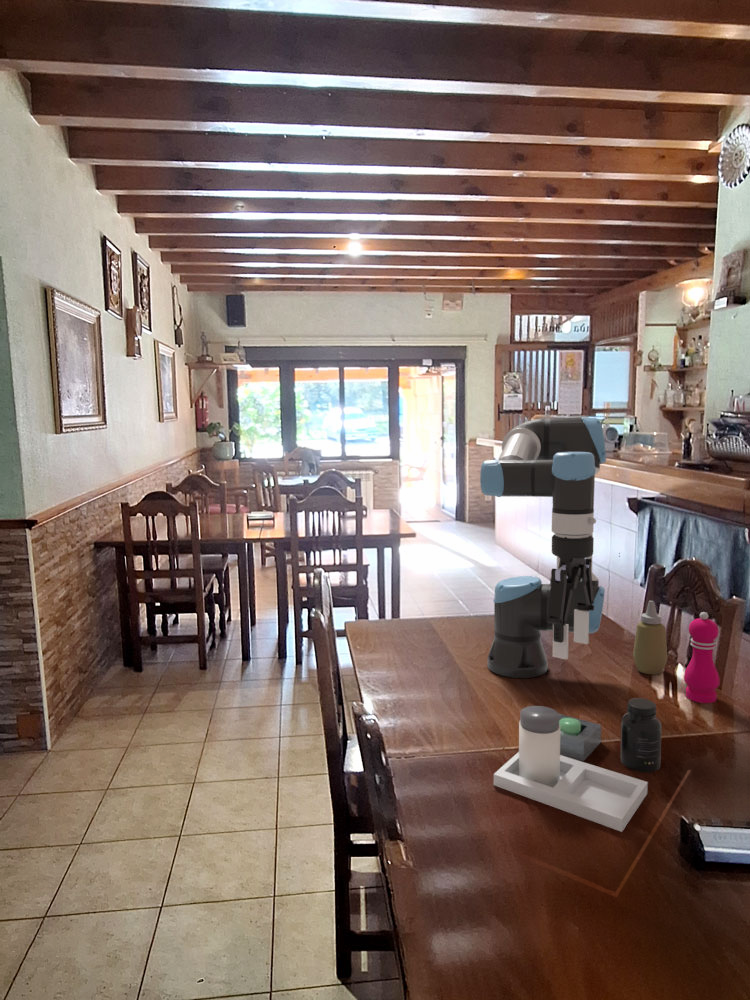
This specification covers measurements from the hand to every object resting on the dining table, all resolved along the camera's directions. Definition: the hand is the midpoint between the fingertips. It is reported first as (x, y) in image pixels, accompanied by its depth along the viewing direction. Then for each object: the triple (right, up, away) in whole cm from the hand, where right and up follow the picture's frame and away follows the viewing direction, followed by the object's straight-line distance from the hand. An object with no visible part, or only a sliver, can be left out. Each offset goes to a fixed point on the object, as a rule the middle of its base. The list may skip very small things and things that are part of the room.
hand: (571, 649), depth 126 cm
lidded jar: (-8, -21, -10) cm, 24 cm away
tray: (-4, -21, -13) cm, 25 cm away
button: (0, -18, +2) cm, 18 cm away
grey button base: (0, -19, +2) cm, 20 cm away
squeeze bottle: (+32, -15, +40) cm, 53 cm away
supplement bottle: (+11, -20, -5) cm, 24 cm away
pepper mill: (+36, -16, +23) cm, 46 cm away
